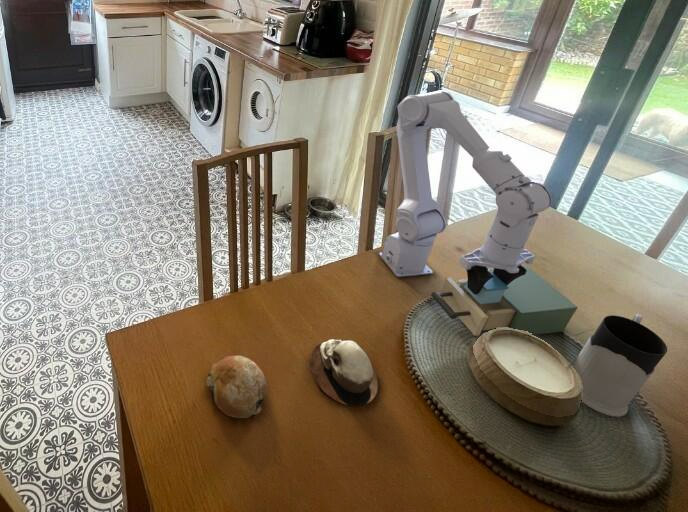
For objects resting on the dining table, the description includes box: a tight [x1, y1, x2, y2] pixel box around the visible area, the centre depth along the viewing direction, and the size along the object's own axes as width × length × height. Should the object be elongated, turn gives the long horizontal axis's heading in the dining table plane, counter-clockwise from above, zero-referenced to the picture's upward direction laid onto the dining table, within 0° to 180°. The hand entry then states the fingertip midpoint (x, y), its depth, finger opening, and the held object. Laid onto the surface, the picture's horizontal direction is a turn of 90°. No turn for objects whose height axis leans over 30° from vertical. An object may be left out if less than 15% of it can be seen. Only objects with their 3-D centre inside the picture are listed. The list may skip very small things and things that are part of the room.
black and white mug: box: [571, 313, 668, 417], centre depth 72 cm, size 9×14×15 cm, turn 126°
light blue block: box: [464, 270, 509, 304], centre depth 85 cm, size 5×5×4 cm
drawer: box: [431, 277, 517, 336], centre depth 87 cm, size 16×10×5 cm, turn 97°
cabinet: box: [488, 264, 579, 336], centre depth 88 cm, size 13×12×7 cm
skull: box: [309, 338, 379, 407], centre depth 76 cm, size 12×10×10 cm
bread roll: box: [206, 354, 268, 419], centre depth 73 cm, size 10×10×8 cm
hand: (483, 289), depth 85 cm, fingers closed on light blue block, 4 cm apart
